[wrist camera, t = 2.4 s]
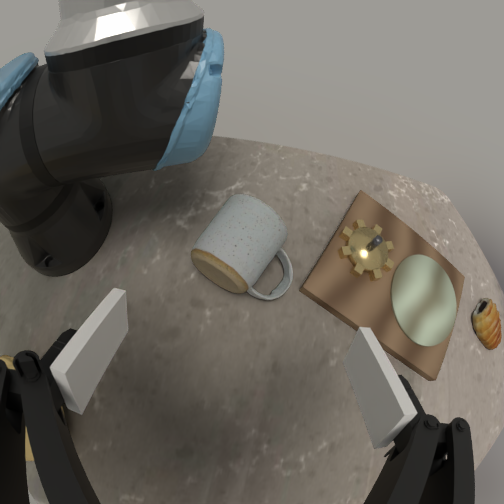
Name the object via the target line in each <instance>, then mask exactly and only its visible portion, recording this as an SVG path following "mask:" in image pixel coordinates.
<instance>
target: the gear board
mask: <svg viewBox="0 0 504 504" xmlns="http://www.w3.org/2000/svg"><path fill="white" fill-rule="evenodd" d="M361 219H363V221H364V223H365V226H366V227H368V228H371V229H372V228H373V227H374V226H375V225H376V224H377V225H378V226H380V227H381V228H382V231H381V233H380V235H381V236H382V238H383V239H384V241H385V242H387V241H392V244H393V247H394V249H393V250H392V251H390V252H388V258H389V259H391V260H392V261H393V262H394V265H393V268H392V269H391V270H390V271H388V272H386V271H384V270H383V269H382V268H380V270H381V273H382V278H381V279H379V280H377V281H372V282H371V281H370V277H369V274H368V273H365V272H362V274H361V275H360V276H359V277H358V278H356V277H355V276H353V275H352V274H351V273H350V271H351V269H352V268H353V265H352V264H351V262H350V261H349V259H348V258H345V259H340V257H339V254H338V250H339V249H340V248H341V247H343V246H345V245H346V241H344V240H343V239H341V238H340V237H339V235H340V233H341V232H342V230H343V229H344V228H345V227H346V226H347V227H348V228H349V229H351V230H352V231H354V228H353V225H352V224H353V223H354V222H355V221H356V220H361ZM464 278H465V277H464V276H463V275H462V274H461V273H460V272H459V271H458V270H457V269H456V268H455V267H454V266H453V265H452V264H451V263H450V262H449V261H448V260H447V259H445V258H444V257H443V256H442V255H441V254H440V253H439V252H438V251H437V250H436V249H434V248H433V247H432V246H431V245H430V244H429V243H428V242H426V241H425V240H424V239H423V238H422V237H421V236H419V235H418V234H417V233H416V232H415V231H414V230H412V229H411V228H410V227H409V226H407V225H406V224H405V223H404V222H403V221H401V220H400V219H399V218H397V217H396V216H395V215H394V214H392V213H391V212H390V211H389V210H387V209H386V208H385V207H383V206H382V205H381V204H379V203H378V202H377V201H375V200H374V199H373V198H371V197H370V196H368V195H367V194H366V193H364V192H363V191H362V190H360V192H359V193H358V194H357V196H356V198H355V199H354V201H353V203H352V205H351V206H350V208H349V210H348V212H347V213H346V215H345V217H344V219H343V220H342V222H341V224H340V225H339V227H338V229H337V230H336V232H335V234H334V235H333V237H332V239H331V240H330V242H329V244H328V245H327V247H326V249H325V250H324V252H323V254H322V255H321V257H320V258H319V260H318V262H317V263H316V265H315V266H314V268H313V269H312V271H311V273H310V274H309V276H308V277H307V279H306V280H305V282H304V284H303V285H302V287H301V288H300V290H299V291H300V292H302V293H303V294H305V295H306V296H308V297H309V298H310V299H312V300H313V301H315V302H316V303H318V304H319V305H320V306H322V307H323V308H325V309H326V310H328V311H329V312H330V313H332V314H333V315H335V316H336V317H338V318H339V319H340V320H342V321H343V322H345V323H346V324H348V325H349V326H350V327H352V328H353V329H355V330H356V331H358V328H359V327H367V328H371V330H372V332H373V333H374V335H375V337H376V338H377V340H378V342H379V344H380V345H381V347H382V349H383V350H385V351H386V352H388V353H389V354H391V355H392V356H394V357H395V358H396V359H398V360H399V361H401V362H402V363H404V364H405V365H407V366H408V367H409V368H411V369H412V370H414V371H415V372H417V373H418V374H420V375H421V376H422V377H424V378H425V379H427V380H428V381H433V380H436V378H437V376H438V373H439V371H440V368H441V365H442V362H443V359H444V357H445V354H446V350H447V347H448V344H449V341H450V338H451V334H452V331H453V327H454V323H455V320H456V316H457V312H458V307H459V303H460V298H461V294H462V289H463V283H464Z"/></svg>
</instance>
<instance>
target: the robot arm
mask: <svg viewBox="0 0 504 504" xmlns="http://www.w3.org/2000/svg"><path fill="white" fill-rule="evenodd" d="M59 9H60V17H61V20H60V23H59V25H58V28H57V29H56V31H55V33H54V34H53V36H52V37H51V39H50V40H49V42H48V44H47V45H46V47H45V49H44V52H45V57H46V62H47V64H45V65H42V66H38V61H39V60H38V58H36V57H35V56H34V54H33V53H31V52H29V53H27V54H26V53H25V54H22V55H20V56H18V57H17V58H15V59H14V60H12V61H10V62H9V63H8V64H6V65H5V66H3V67H2V68H1V69H0V222H1V223H2V224H3V225H4V226H5V227H7V228H8V229H9V231H10V234H11V236H12V238H13V240H14V242H15V244H16V246H17V248H18V250H19V252H20V254H21V256H22V257H23V259H24V260H25V261H26V262H27V264H29V265H30V266H31V267H32V268H34V269H35V270H37V271H38V272H40V273H41V274H44V275H47V276H62V275H66V274H68V273H71V272H73V271H75V270H77V269H78V268H80V267H81V266H83V265H84V264H85V263H86V262H88V261H89V260H90V259H91V258H92V257H93V256H94V254H95V253H96V252H97V251H98V249H99V248H100V246H101V245H102V243H103V242H104V240H105V238H106V236H107V233H108V231H109V228H110V224H111V219H112V203H111V199H110V197H109V194H108V192H107V190H106V188H105V186H104V184H103V183H102V182H101V180H100V179H99V178H100V177H105V176H111V175H117V174H123V173H130V172H137V171H144V170H151V169H152V170H153V171H156V170H160V169H161V168H162V167H165V166H171V165H177V164H183V163H189V162H192V161H194V160H196V159H197V158H198V157H200V156H202V155H203V154H204V152H205V151H206V149H207V148H208V146H209V143H210V141H211V138H212V135H213V131H214V127H215V123H216V118H217V113H218V107H219V100H220V94H221V85H222V79H221V73H222V67H223V61H224V43H223V38H222V36H221V34H220V33H219V32H217V31H214V30H212V29H210V28H206V29H203V22H204V10H203V9H201V8H200V7H199V6H198V5H197V4H195V3H194V2H193V1H192V0H59ZM127 332H128V318H127V301H126V291H125V290H121V289H117V288H113V289H112V291H111V292H110V293H109V294H108V295H107V296H106V297H105V299H104V300H103V301H102V302H101V303H100V304H99V305H98V307H97V308H96V309H95V310H94V311H93V313H92V314H91V315H90V316H89V317H88V319H87V320H86V321H85V322H84V323H83V325H82V326H81V327H80V328H79V330H78V331H76V330H74V329H71V328H70V329H69V330H67V331H65V332H63V333H62V334H61V335H60V336H59V338H58V339H57V341H55V342H54V344H53V345H52V346H51V347H50V349H49V350H48V351H47V352H46V354H45V355H44V356H43V357H42V359H41V360H40V359H39V356H38V355H37V354H36V353H35V352H33V351H22V352H19V353H18V354H17V355H16V356H15V357H14V359H13V363H12V364H13V366H14V368H15V370H14V369H9V368H8V367H7V365H6V363H5V362H4V361H3V360H2V359H0V504H30V502H29V495H28V487H27V476H26V456H25V433H26V429H27V433H28V438H29V442H30V446H31V450H32V454H33V458H34V461H35V464H36V468H37V471H38V474H39V477H40V480H41V483H42V486H43V488H44V491H45V494H46V496H47V499H48V501H49V504H101V503H100V502H99V500H98V498H97V496H96V494H95V492H94V490H93V488H92V486H91V484H90V482H89V480H88V478H87V476H86V473H85V471H84V469H83V467H82V464H81V462H80V459H79V457H78V454H77V452H76V449H75V447H74V444H73V441H72V438H71V436H70V433H69V430H68V427H67V423H66V420H65V417H64V414H63V410H62V408H61V406H62V404H63V403H64V402H65V404H66V406H67V408H68V409H70V410H72V411H74V412H76V413H79V414H81V415H82V414H83V412H84V410H85V408H86V406H87V404H88V402H89V400H90V398H91V396H92V394H93V392H94V391H95V389H96V387H97V385H98V383H99V381H100V379H101V378H102V376H103V374H104V372H105V370H106V368H107V367H108V365H109V363H110V361H111V360H112V358H113V356H114V354H115V353H116V351H117V349H118V347H119V346H120V344H121V342H122V341H123V339H124V337H125V336H126V334H127ZM343 364H344V367H345V369H346V372H347V374H348V377H349V380H350V382H351V385H352V388H353V390H354V393H355V396H356V399H357V401H358V404H359V407H360V410H361V412H362V415H363V418H364V421H365V424H366V427H367V430H368V433H369V435H370V438H371V441H372V444H373V447H374V449H376V448H382V447H387V446H388V445H389V444H390V443H391V442H392V441H393V440H394V443H395V445H394V446H393V447H392V448H391V449H390V450H389V451H388V452H387V453H386V454H385V456H384V457H386V456H387V455H389V456H388V458H387V460H386V463H385V465H384V467H383V469H382V471H381V473H380V475H379V477H378V479H377V481H376V482H375V484H374V486H373V488H372V490H371V492H370V493H369V495H368V497H367V499H366V500H365V502H364V504H474V501H475V482H474V481H475V479H474V460H473V449H472V440H471V432H470V427H469V424H468V423H467V421H466V420H464V419H463V418H460V417H458V418H455V419H453V420H452V422H451V423H450V424H445V423H440V422H439V421H438V419H437V418H436V417H434V416H433V415H429V414H427V415H426V414H425V412H424V410H423V408H422V406H421V404H420V402H419V400H418V399H417V397H416V395H415V393H414V391H413V389H412V388H411V386H410V384H409V382H408V381H407V380H406V379H405V378H404V377H403V376H402V375H397V373H396V372H395V370H394V368H393V366H392V364H391V363H390V361H389V359H388V357H387V356H386V354H385V352H384V350H383V349H382V347H381V345H380V344H379V342H378V340H377V338H376V337H375V335H374V333H373V332H372V330H371V328H367V327H359V328H358V331H357V333H356V335H355V337H354V340H353V342H352V344H351V346H350V348H349V350H348V352H347V354H346V356H345V358H344V360H343ZM446 455H447V460H446Z"/></svg>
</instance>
